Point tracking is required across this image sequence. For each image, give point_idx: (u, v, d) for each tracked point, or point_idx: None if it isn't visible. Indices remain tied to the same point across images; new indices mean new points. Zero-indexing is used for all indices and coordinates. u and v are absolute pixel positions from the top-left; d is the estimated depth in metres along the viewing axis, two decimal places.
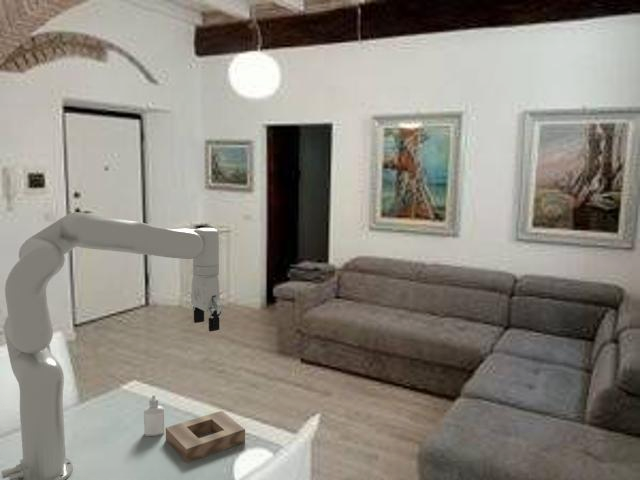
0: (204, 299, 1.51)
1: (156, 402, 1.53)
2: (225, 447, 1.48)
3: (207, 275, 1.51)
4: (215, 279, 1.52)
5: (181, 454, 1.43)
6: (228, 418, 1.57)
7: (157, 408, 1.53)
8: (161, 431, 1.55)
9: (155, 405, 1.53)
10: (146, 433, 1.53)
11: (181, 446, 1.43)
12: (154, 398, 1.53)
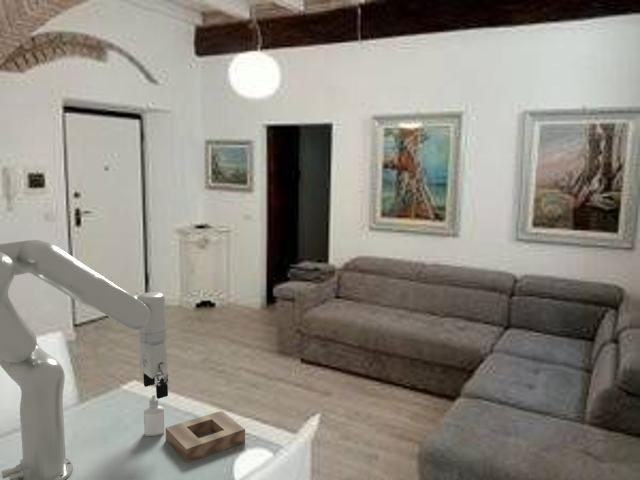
0: (150, 367, 1.48)
1: (156, 402, 1.53)
2: (225, 447, 1.48)
3: (153, 342, 1.48)
4: (161, 345, 1.48)
5: (181, 454, 1.43)
6: (228, 418, 1.57)
7: (157, 408, 1.53)
8: (161, 431, 1.55)
9: (155, 405, 1.53)
10: (146, 433, 1.53)
11: (181, 446, 1.43)
12: (154, 398, 1.53)
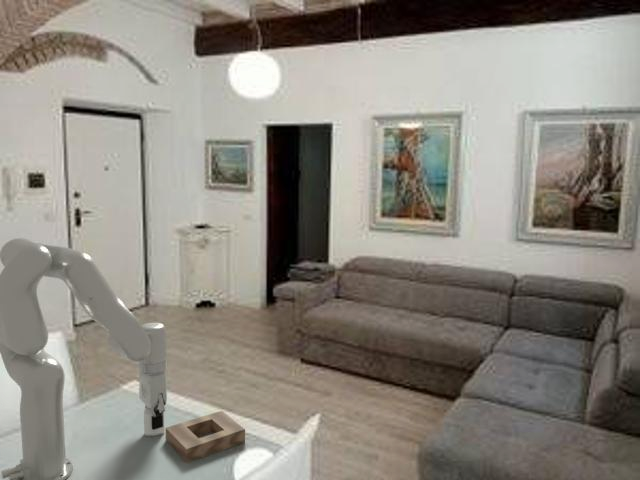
0: (150, 397, 1.49)
1: None
2: (225, 447, 1.48)
3: (153, 373, 1.49)
4: (161, 376, 1.50)
5: (181, 454, 1.43)
6: (228, 418, 1.57)
7: (157, 408, 1.54)
8: (162, 431, 1.55)
9: None
10: (146, 433, 1.53)
11: (181, 446, 1.43)
12: None
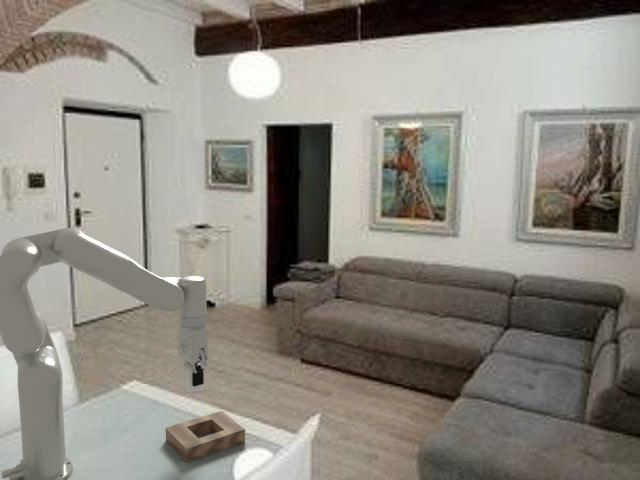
0: (191, 352, 1.44)
1: None
2: (225, 447, 1.48)
3: (194, 327, 1.44)
4: (202, 330, 1.45)
5: (181, 454, 1.43)
6: (228, 418, 1.57)
7: (197, 364, 1.49)
8: (202, 388, 1.50)
9: None
10: (186, 390, 1.48)
11: (181, 446, 1.43)
12: None
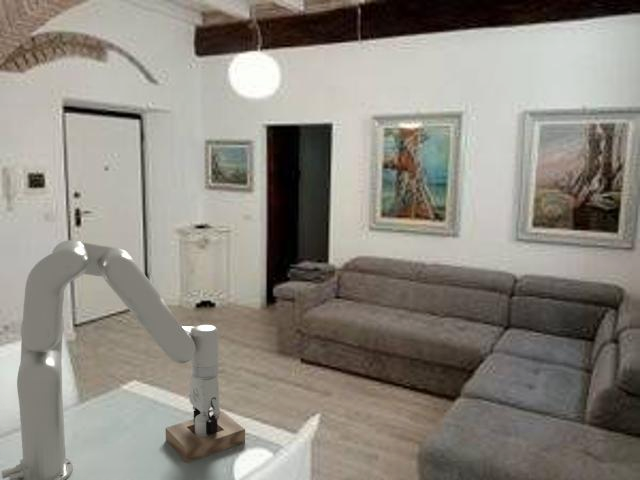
0: (203, 402, 1.45)
1: None
2: (225, 447, 1.48)
3: (206, 376, 1.45)
4: (214, 380, 1.46)
5: (181, 454, 1.43)
6: (228, 418, 1.57)
7: None
8: None
9: None
10: None
11: (181, 446, 1.43)
12: None
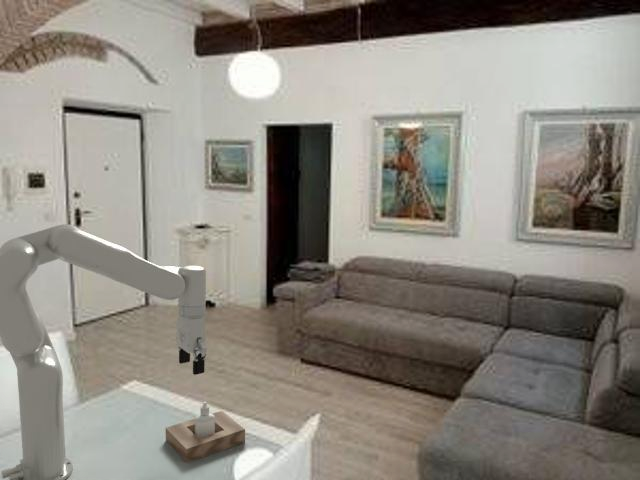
0: (189, 341, 1.44)
1: (208, 409, 1.50)
2: (225, 447, 1.48)
3: (192, 316, 1.45)
4: (200, 320, 1.45)
5: (181, 454, 1.43)
6: (228, 418, 1.57)
7: (208, 416, 1.50)
8: None
9: (206, 413, 1.49)
10: None
11: (181, 446, 1.43)
12: (205, 405, 1.50)
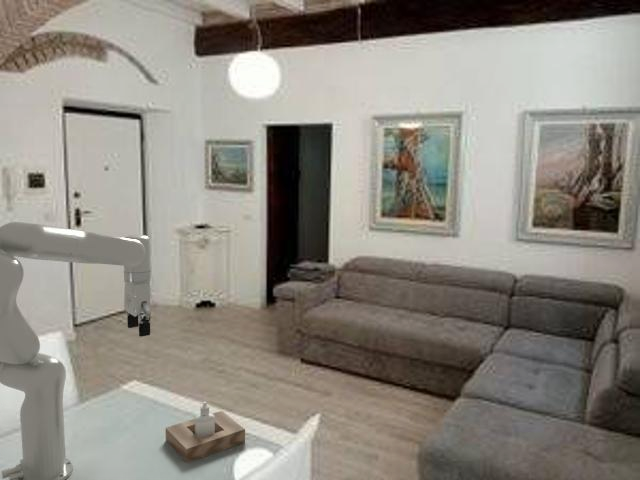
0: (134, 305, 1.53)
1: (208, 409, 1.50)
2: (225, 447, 1.48)
3: (137, 281, 1.54)
4: (145, 285, 1.55)
5: (181, 454, 1.43)
6: (228, 418, 1.57)
7: (208, 416, 1.50)
8: None
9: (206, 413, 1.49)
10: None
11: (181, 446, 1.43)
12: (205, 405, 1.50)
